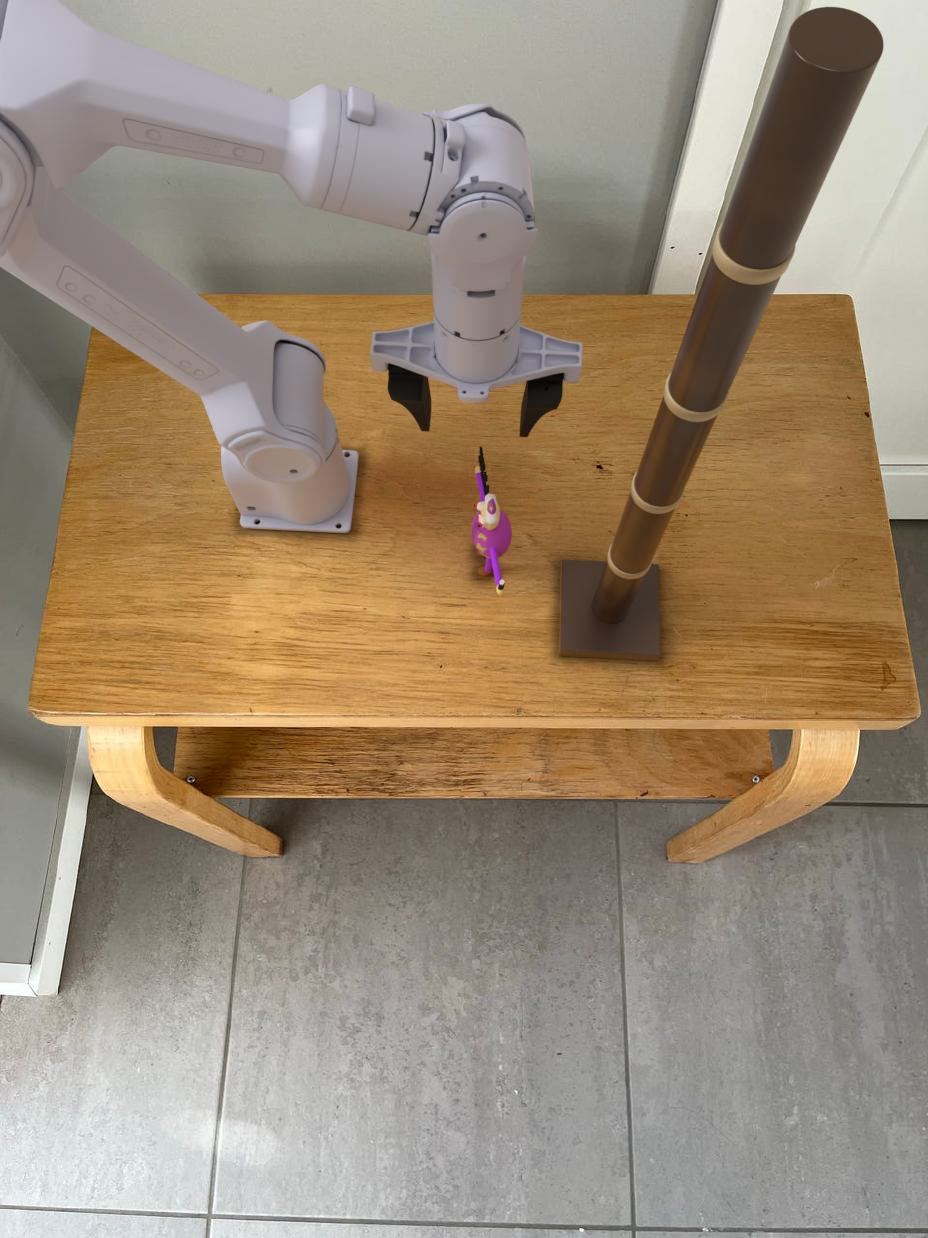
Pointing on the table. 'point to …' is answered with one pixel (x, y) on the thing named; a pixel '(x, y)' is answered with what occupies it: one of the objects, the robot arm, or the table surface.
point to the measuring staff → (724, 321)
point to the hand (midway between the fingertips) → (475, 423)
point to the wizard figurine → (490, 527)
